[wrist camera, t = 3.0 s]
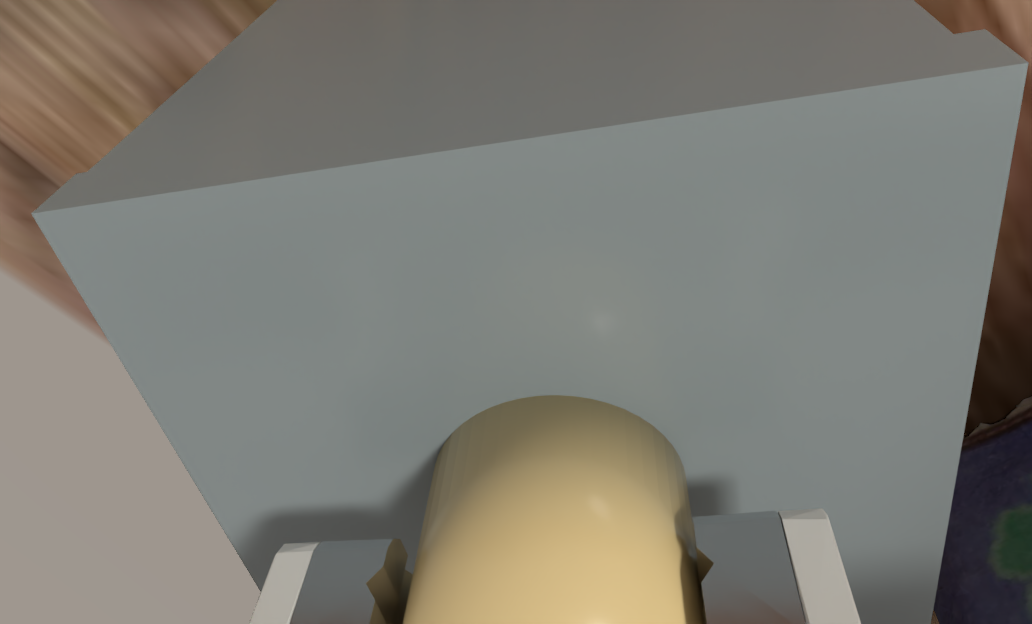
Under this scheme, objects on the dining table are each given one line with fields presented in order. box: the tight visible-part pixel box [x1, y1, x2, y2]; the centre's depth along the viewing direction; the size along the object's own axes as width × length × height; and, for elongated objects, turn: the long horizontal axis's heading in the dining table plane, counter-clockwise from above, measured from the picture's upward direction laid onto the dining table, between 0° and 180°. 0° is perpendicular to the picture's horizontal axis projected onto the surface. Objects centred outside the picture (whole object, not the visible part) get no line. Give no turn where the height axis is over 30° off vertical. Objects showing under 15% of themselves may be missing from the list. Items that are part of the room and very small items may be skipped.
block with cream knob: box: [31, 29, 1028, 624], centre depth 11 cm, size 10×10×6 cm
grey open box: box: [88, 0, 953, 172], centre depth 16 cm, size 10×10×9 cm
